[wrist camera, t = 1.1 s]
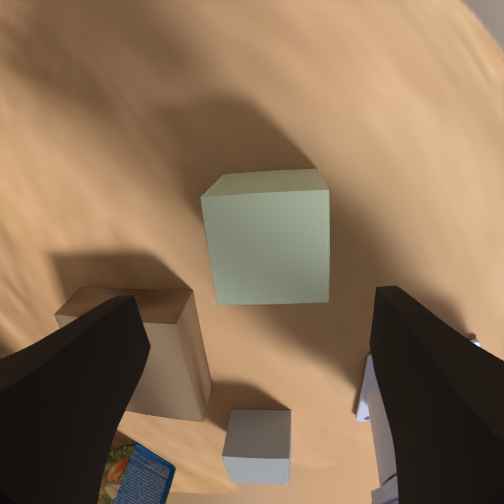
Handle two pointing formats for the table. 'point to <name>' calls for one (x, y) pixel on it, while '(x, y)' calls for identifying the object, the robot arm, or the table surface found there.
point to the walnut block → (160, 350)
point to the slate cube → (258, 446)
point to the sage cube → (268, 237)
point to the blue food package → (135, 477)
